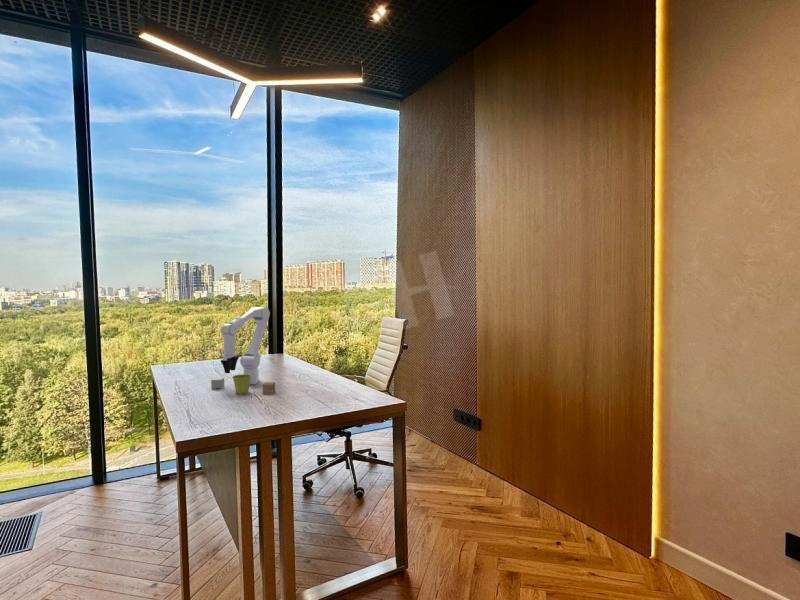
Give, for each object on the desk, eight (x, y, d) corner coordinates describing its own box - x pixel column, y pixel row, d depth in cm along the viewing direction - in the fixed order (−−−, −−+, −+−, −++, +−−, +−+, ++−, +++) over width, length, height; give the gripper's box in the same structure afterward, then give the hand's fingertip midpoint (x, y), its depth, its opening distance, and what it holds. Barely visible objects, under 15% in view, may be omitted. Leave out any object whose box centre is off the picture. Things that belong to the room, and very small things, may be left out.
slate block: (215, 387, 249) (215, 377, 248) (224, 387, 249) (224, 377, 248) (211, 389, 244) (211, 380, 243) (220, 389, 244) (220, 379, 243)
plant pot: (254, 390, 239) (254, 374, 239) (246, 395, 230) (246, 378, 230) (237, 390, 240) (237, 374, 240) (229, 394, 231) (228, 378, 231)
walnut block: (265, 391, 237) (265, 382, 237) (275, 391, 237) (275, 382, 237) (262, 394, 232) (262, 384, 232) (272, 394, 232) (272, 384, 232)
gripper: (227, 344, 249) (227, 369, 250) (216, 348, 235) (217, 374, 235) (240, 344, 249) (240, 368, 250) (230, 348, 235) (230, 374, 235)
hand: (230, 371), depth 243 cm, fingers open, 7 cm apart
